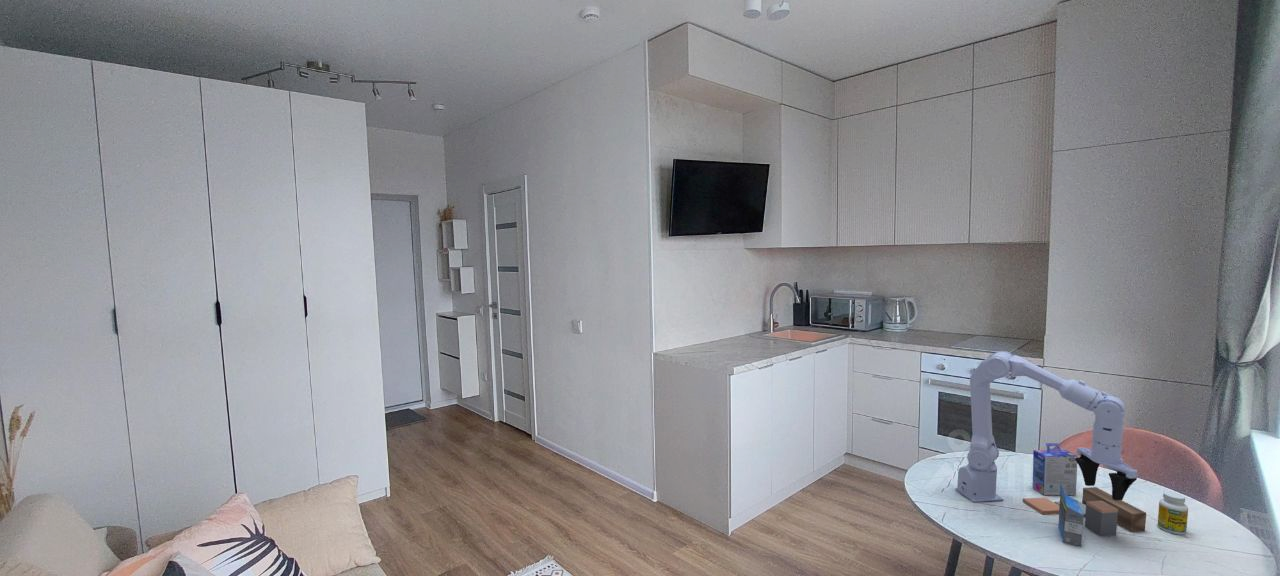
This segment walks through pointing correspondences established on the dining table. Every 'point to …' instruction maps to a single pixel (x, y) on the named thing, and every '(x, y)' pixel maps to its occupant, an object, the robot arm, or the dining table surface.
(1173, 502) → the supplement bottle
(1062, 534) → the label tape cartridge
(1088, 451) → the robot arm
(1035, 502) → the terracotta pad
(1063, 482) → the ink cartridge box
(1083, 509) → the slate pad
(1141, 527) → the block
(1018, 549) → the dining table surface
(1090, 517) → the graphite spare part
